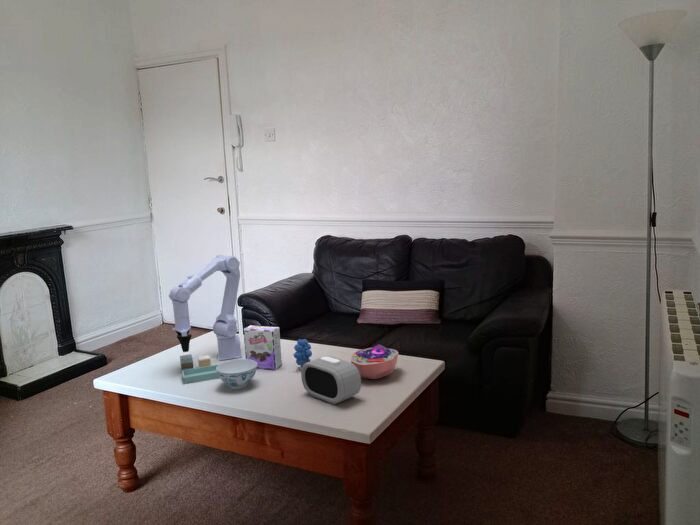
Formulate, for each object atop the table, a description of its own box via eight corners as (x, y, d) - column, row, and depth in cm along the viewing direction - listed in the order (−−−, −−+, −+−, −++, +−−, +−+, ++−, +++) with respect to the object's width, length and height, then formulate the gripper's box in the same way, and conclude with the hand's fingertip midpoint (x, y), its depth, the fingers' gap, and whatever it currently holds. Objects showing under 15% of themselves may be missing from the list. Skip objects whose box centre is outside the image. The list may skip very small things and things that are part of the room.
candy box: (245, 367, 233) (242, 328, 230) (253, 362, 238) (250, 324, 236) (275, 370, 228) (272, 330, 225) (282, 365, 233) (279, 326, 231)
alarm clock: (301, 393, 203) (299, 357, 201) (321, 385, 210) (319, 350, 207) (341, 409, 188) (339, 370, 186) (362, 399, 195) (360, 362, 193)
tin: (192, 368, 236) (191, 354, 235) (193, 371, 232) (192, 357, 231) (181, 369, 235) (179, 355, 234) (181, 373, 230) (180, 359, 229)
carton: (210, 365, 239) (209, 354, 238) (211, 368, 234) (210, 358, 233) (198, 367, 237) (197, 356, 236) (199, 370, 233) (198, 359, 232)
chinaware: (209, 387, 213) (207, 367, 212) (241, 375, 224) (240, 356, 223) (234, 396, 204) (232, 376, 202) (267, 383, 215) (265, 363, 213)
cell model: (340, 379, 215) (338, 350, 213) (375, 364, 229) (373, 336, 227) (375, 389, 203) (373, 359, 201) (409, 372, 218) (408, 344, 216)
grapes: (305, 373, 223) (303, 343, 221) (291, 371, 226) (288, 342, 224) (320, 363, 233) (318, 334, 231) (305, 361, 236) (303, 333, 234)
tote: (220, 370, 232) (219, 364, 231) (223, 377, 223) (222, 371, 223) (182, 376, 227) (181, 370, 227) (184, 384, 218) (183, 377, 218)
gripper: (170, 313, 235) (173, 345, 237) (172, 322, 221) (175, 355, 224) (188, 311, 237) (191, 343, 240) (191, 319, 224) (194, 352, 226)
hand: (185, 349), depth 232 cm, fingers open, 7 cm apart
